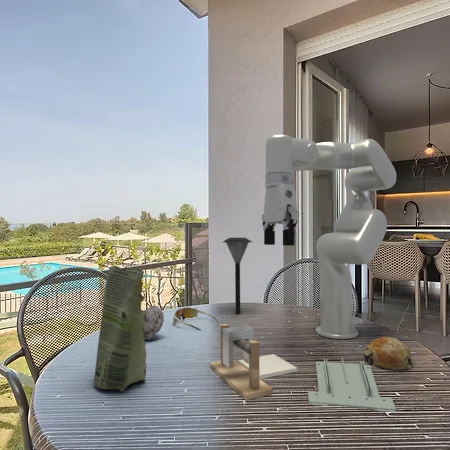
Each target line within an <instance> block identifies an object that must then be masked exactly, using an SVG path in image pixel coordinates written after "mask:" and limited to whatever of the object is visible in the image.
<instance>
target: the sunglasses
mask: <svg viewBox="0 0 450 450" xmlns="http://www.w3.org/2000/svg"><path fill="white" fill-rule="evenodd" d="M199 313H200V314H203V315H206V316H207V315H208V316H209V317H211V318H213V319H214V320H215V321H216V322H217V323H218V324H219V323H220V324H221V322H220V320H219V319H218V318H217V317H216V316H215V315H213V314H211V313H208V312H206V311H204V310H201V309H198V308H197V307H191V306H183V307H182V306H181V307H179V308H176V309H175V310H174V311H173V318H172V319H173V321H172V322H173V326H176V325H175V323H176V322H177V321H179V322H177V323H181V324H183V325H185V326H188V327H191V328H193V329H196V330H197V331H203V329H201V328H200V327H197V326H195V325H193V324H191V323H187V322H185V321H184V320H183V319H185V318H193V317H197V318H198V316H199ZM181 319H182V320H181ZM177 323H176V324H177Z"/></svg>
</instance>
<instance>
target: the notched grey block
mask: <svg viewBox="0 0 450 450" xmlns="http://www.w3.org/2000/svg"><path fill="white" fill-rule="evenodd" d="M254 331H255V330H254V328H253V327H251V326H249V325H247V324H246V325H240V326H239V325H237V326H229V328H223V364H224V365H226V366H227V367H228V368H232V367H234V360H235V353H234V352H235V348H234V347H235V345H234V341H236V340H244V341H246V342H247V343H249V341H254V339H255V337H254V336H255V335H254ZM241 350H242V349H241ZM241 352H242V360H244V361H245V362H246V363H248V364H249V354H248V353H246V352H245V351H243V350H242V351H241Z"/></svg>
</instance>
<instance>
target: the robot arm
mask: <svg viewBox="0 0 450 450" xmlns="http://www.w3.org/2000/svg"><path fill="white" fill-rule="evenodd" d="M351 169H352V170H351ZM323 170H327V171H328V170H349V172H347V173H346V175H345V178H344V186H345V187H344V188H345V191H346V199H347V201H346V204H345V205H344V207H343V208H342V210H341V211H340V213H339V215H338V216H337V218H336V220H335V221H334V225H333V228H334V232H328V233H324V234H322V235H321V236H319V238H318V239H317V241H316V244H315V246H316V255H317V259H318V260H317V261H318V266H319V280H320V281H319V287H320V288H319V290H320V291H319V294H320V295H319V296H320V297H319V299H320V302H319V303H320V305H319V306H320V325H319V326H316V328H315V333H316V334H317V335H318V336H321V337H323V338H328V339H335V340H336V339H337V340H348V339H349V340H350V339H355V338H357V337H358V336H359V331H358V330H357V329H356V327H357V326H363V325H364V320H363V318H359V319H357V318H356V319H355V318H353V290H352V289H353V287H352V286H353V277H352V274H351V271H350V270H349V268H348V266H347V265H359V266H360V265H366V264H369V263H371V262H372V260H373V259H374V257H375V255H376V253H377V251H378V249H379V247H380V246H381V243H382V242H383V239H384V237H385V235H386V233H387V228H388V220H387V217H386V215H385V214H384V213H383V212H382V211H381V210H380V209H377V208H373V204H372V201H371V200H370V199H369V197H368V196H367V195H366V193H365V192H372V191H373V192H374V191H380V190H382V191H383V190H388V189H391V188H392V187H393V186H394V185H395V184H396V183H397V182H396V181H397V172H396V169H395V167H394V165H393V164H392V162H391V160H390V159H389V157H388V155H387V154H386V152H385V150H384V149H383V148H382V146H381V145H380V144H379V143H378V142H377V141H376V140H374V139H372V138H366V139H362V140H361V139H360V140H358V141H352V142H335V141H324V142H317V143H316V142H315V141H313V140H312V139H309V138H299V137H297V138H296V137H292V136H290V135H288V134H273V135H271V136H269V137H268V138H266V141H265V170H264V171H265V172H264V173H265V177H264V179H265V181H264V182H265V183H264V188H265V195H264V202H263V203H264V205H263V214H262V215H261V221H262V226H263V228H262V229H263V244H264V245H266V246H274V245H275V244H276V230H275V227H276V225H277V224H279V225H282V226H283V228H284V229H282V245H283V246H285V247H286V246H287V247H288V246H295V243H296V242H295V241H296V240H295V239H296V238H295V236H296V234H295V231H296V229H297V224H298V221H299V216H300V212H299V210H298V207H297V206H298V205H297V193H296V188H295V185H294V172H298V171H299V172H300V171H323ZM346 264H347V265H346Z"/></svg>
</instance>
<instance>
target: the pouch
mask: <svg viewBox="0 0 450 450" xmlns="http://www.w3.org/2000/svg"><path fill="white" fill-rule="evenodd" d="M144 273H145V271H144V270H143V269H142V267H139V268H137V269H136V268H135V270H134V269H131V268H130V269H127V264H126V265H125V267H124V268H123V267H122V268H121V267H120V265H119V266H118V265H112V266H109V268H108V270H107V276H106V280H105V281H106V282H105V287H104V290H103V297H102V300H103V301H102V302H103V303H102V315H101V319H100V322H101V323H100V328H99V329H100V330H99V336H98V341H97V342H98V343H97V344H98V345H97V351H96V352H97V353H96V360H95V371H94V378H93V384H94V386H95V387H96V388H98V389H101V390H119V391H121V392H123V391H124V390H125V389H126V388H127V387H128V386H129V385H132V384H134V383H137V382H140V381H142V382H146V373H147V363H146V361H147V350H146V347H147V345H146V342H145V341H146V340H145V339H144V326H143V325H144V324H145V322H146V315H147V314H146V312H145V311H144V310H142V302H143V301H145V297H144V295H143V294H142V291H143V285H144V283H143V278H144Z"/></svg>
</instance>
